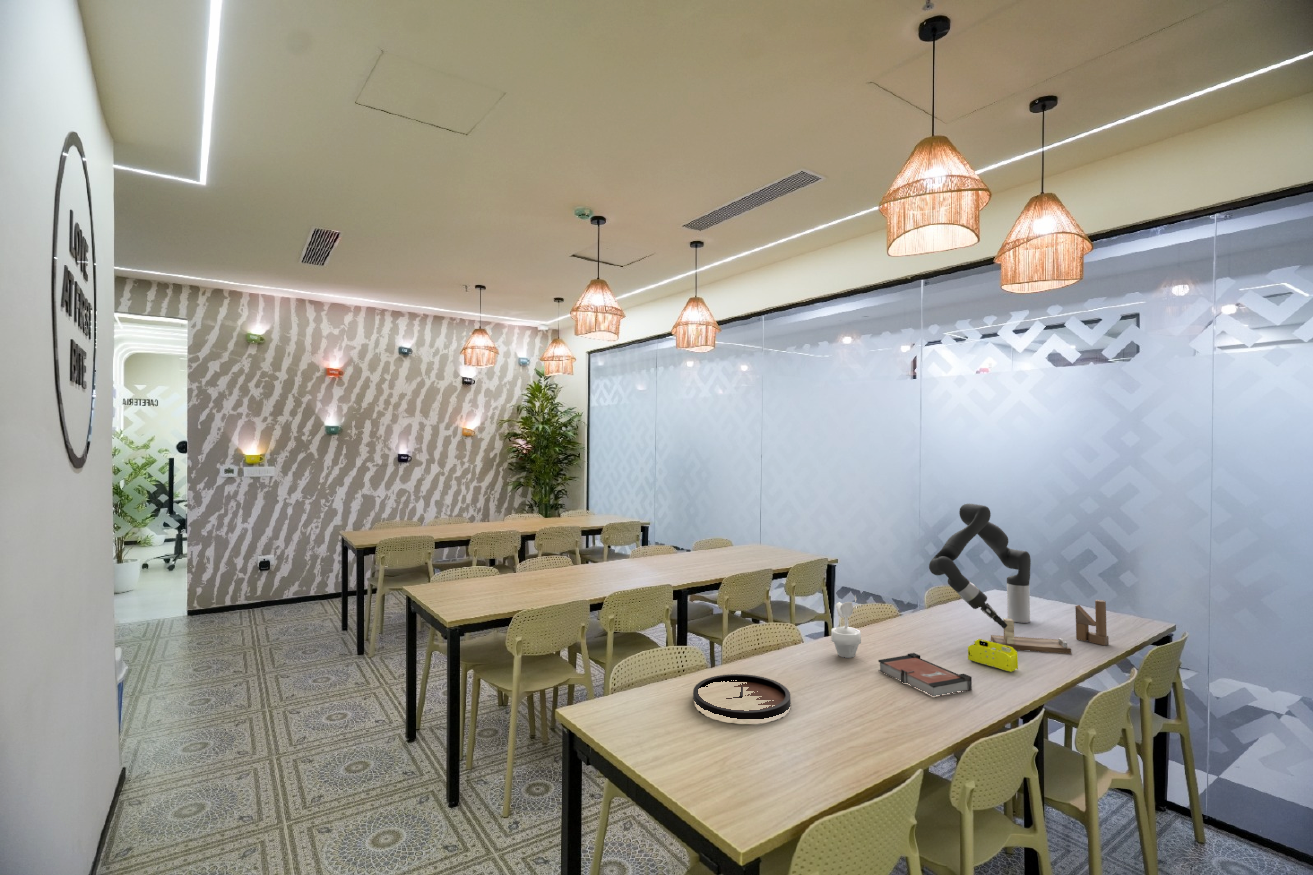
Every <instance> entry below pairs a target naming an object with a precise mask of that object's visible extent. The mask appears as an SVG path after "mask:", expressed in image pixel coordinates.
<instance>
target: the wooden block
mask: <svg viewBox="0 0 1313 875" xmlns="http://www.w3.org/2000/svg"><path fill="white" fill-rule="evenodd" d="M1094 603H1095V604H1094V605H1095V606H1094V607H1095V611H1094V612H1095V619H1094V618H1092V617H1091V616H1090V614H1089V613H1087V611H1086V610H1085V609H1084V608H1083V607H1082V606H1081V605H1080V604H1079V605H1075V606H1074V607H1075V608H1074V609H1075V630H1076V631H1075V639H1076V640H1078V641H1083V642H1086V641H1088V642H1089V643H1091V644H1096V645H1100V646H1107V645H1109V642H1110V641H1109V640H1110V639H1109V635H1108V634H1107V631H1108V630H1107V602H1106V601H1105V600H1103V599H1095V601H1094ZM1089 626H1091V627H1095V632H1093V631H1089V629H1090V628H1089Z"/></svg>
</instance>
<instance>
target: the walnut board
mask: <svg viewBox="0 0 1313 875" xmlns="http://www.w3.org/2000/svg"><path fill="white" fill-rule="evenodd" d="M990 642H994V643H998V644H1002V645H1006V646H1010V647H1013V648H1014V649H1015V651H1024V650H1030V652H1038V651H1039V652H1041V653H1052V654H1053V653H1055V654H1067V655H1068V654H1069V655H1072V648H1071V647H1070V646H1068V642H1067V641H1066V640H1065V639H1063V637H1062V638H1061V637H1058V638H1056V639H1055V638H1043V637H1042V638H1041V637H1040V638H1039V637H1026V636H1024V637H1023V636H1014V644H1008V643H1006V642H1005V641H1004V635H995V634H990ZM1007 648H1009V647H1007ZM1010 651H1011V649H1010Z"/></svg>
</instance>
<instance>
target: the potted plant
mask: <svg viewBox="0 0 1313 875" xmlns="http://www.w3.org/2000/svg"><path fill="white" fill-rule="evenodd" d="M854 594H855V593H854ZM853 599H854V601H855V603H854V604H856V602H857V600H858V599H857V596H856V594H855V595H854V597H853ZM859 606H860V608H862V604H860V605H859ZM835 608H836V611H837V615H838V617H840V618H843V619H844V621H843V622H844V625H843V626H836V627H832V628H831V629H830V630H831V634H830V635H831V642H833V644H834V646H835V650H836V652H837V655H838V656H839V657H841V658H844V657H845V658H846V659H851V658H853V657H855V656H856V654H857V651H858V647H859V645H860V644H862V633H861V632H862V630H859V629H857V628H855V627H851V626H849V617H851V616H852V615H853V612H854V608H853V601H844V602H843V603H842V602H840V601H839V602H837V603H835ZM857 608H858V607H857V604H856V606H855V610H857ZM845 658H844V659H845Z"/></svg>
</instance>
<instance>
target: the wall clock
mask: <svg viewBox="0 0 1313 875" xmlns="http://www.w3.org/2000/svg"><path fill="white" fill-rule="evenodd" d="M731 680H732V681H731ZM733 680H734V681H733ZM735 680H737V681H735ZM721 681H722V682H723V681H725V682H727V681H729V682H747V684H746V683H745V684H743V683H742V685H741V684H740V685H738V686H734V687H741V692H740V696H739V697H733V698H742V697H743V687H749V688H748V689H747V690H746V691H754V692H755V693H754V692H753V693H751V695H750V694H748V695H747V696H749V695H750V696H762V697H759V698H760V699H759V698H757V699H756V700H771V701H769V702H768V701H767V702H765V703H763V704H762V703H761V704H758V705H771V706H769V707H768V708H767V707H766V708H763V709H760V710H749V711H744V710H731V709H726V708H721V707H717V706H714V705H712V704H710V703H708V702H706V701H704V700H703V699H702V698H701V697H700V696H699V694H698V689H699V688H701V687H705V686H706V685H708V684H710V683H713V682H721ZM706 687H708V686H706ZM757 691H758V692H757ZM692 694H693V695H692V699H694V701H695V702H696V704H697V705H699V706H700V707H701V708H703V709H704V710H708V711H710V712H712V713H714V714H719V715H723V716H726V717H730V718H737V719H764V718H769V717H773V716H776V715H779V714H782V713H784V712H785V711H786V710H788V709H789V707H790V704H791V700H792V698H791V693H790V691H789V689H788V688H787V686H785V685H783V684H782V683H781V682H778V681H777V680H773V679H770V678H768V677H764V676H760V675H755V674H754V675H753V674H752V675H751V674H743V673H742V674H741V673H732V674H731V673H730V674H721V675H716V676H711V677H708V678H705V679H703V680H701V681H700V682H698V683H697V684H695V686H694V687H693V692H692ZM745 696H746V695H745ZM726 699H732V698H726ZM772 700H774V701H772ZM772 705H775V706H773V707H772Z"/></svg>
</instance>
